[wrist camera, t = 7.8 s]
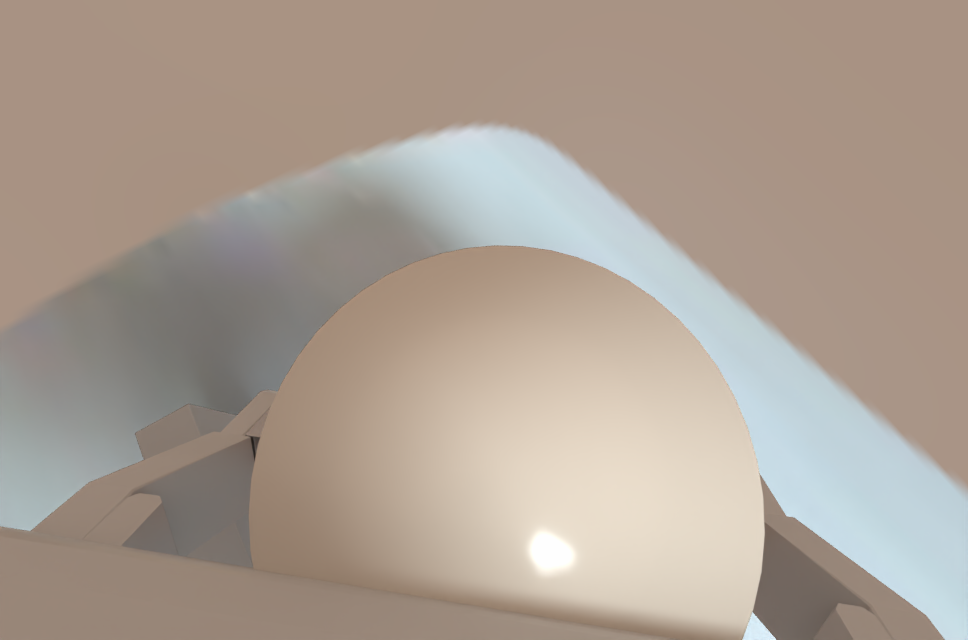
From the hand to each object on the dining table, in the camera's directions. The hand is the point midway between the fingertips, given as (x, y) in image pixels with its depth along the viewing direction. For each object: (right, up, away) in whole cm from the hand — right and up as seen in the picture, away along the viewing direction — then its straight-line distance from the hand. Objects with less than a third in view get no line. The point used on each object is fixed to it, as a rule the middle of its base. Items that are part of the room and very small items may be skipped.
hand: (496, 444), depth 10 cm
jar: (0, -2, +5) cm, 5 cm away
